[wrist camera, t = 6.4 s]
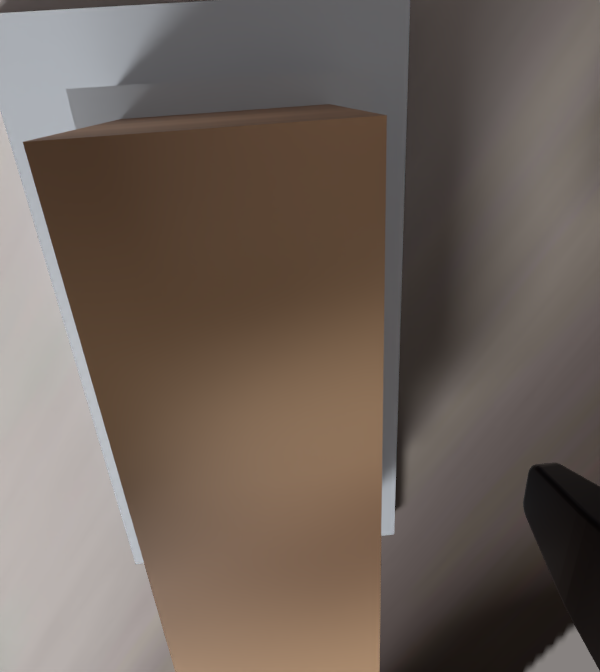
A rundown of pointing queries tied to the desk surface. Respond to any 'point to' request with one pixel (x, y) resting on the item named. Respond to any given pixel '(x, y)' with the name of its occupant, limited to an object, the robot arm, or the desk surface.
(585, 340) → the desk surface
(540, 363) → the desk surface
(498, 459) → the desk surface
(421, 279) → the desk surface
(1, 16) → the pale grey flat fixture
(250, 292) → the walnut bar
